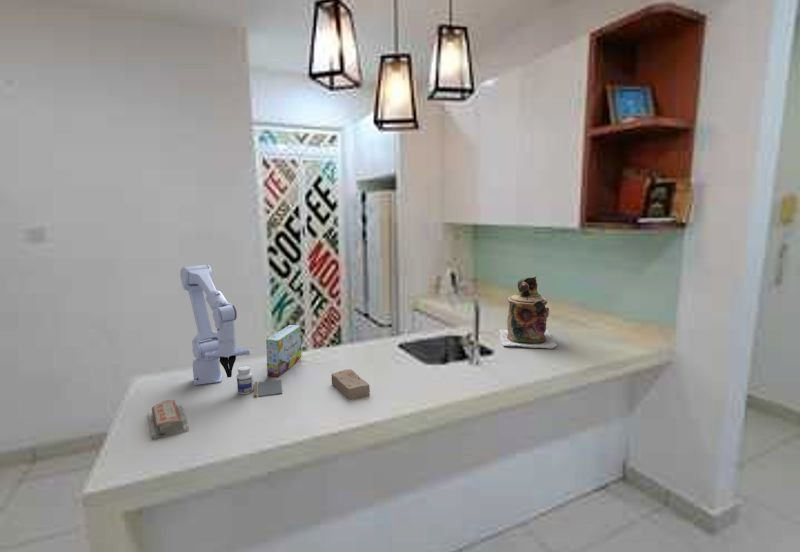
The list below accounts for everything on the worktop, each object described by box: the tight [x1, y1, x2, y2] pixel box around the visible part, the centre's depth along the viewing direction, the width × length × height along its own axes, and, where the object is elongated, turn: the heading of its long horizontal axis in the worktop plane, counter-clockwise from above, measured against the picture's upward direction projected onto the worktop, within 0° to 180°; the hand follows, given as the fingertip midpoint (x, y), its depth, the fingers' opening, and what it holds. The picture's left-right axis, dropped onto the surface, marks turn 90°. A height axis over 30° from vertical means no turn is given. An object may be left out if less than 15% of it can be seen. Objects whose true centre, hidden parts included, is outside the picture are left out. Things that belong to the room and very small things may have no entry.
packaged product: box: [147, 399, 190, 441], centre depth 140 cm, size 18×5×10 cm
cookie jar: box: [498, 274, 557, 350], centre depth 215 cm, size 25×25×32 cm
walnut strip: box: [253, 381, 258, 398], centre depth 163 cm, size 1×12×1 cm, turn 17°
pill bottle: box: [236, 365, 254, 395], centre depth 161 cm, size 5×5×9 cm
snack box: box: [265, 324, 302, 378], centre depth 184 cm, size 21×6×15 cm, turn 168°
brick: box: [331, 368, 371, 401], centre depth 164 cm, size 16×8×5 cm, turn 31°
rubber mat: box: [258, 379, 283, 398], centre depth 165 cm, size 8×12×1 cm, turn 17°
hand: (229, 376), depth 160 cm, fingers closed
